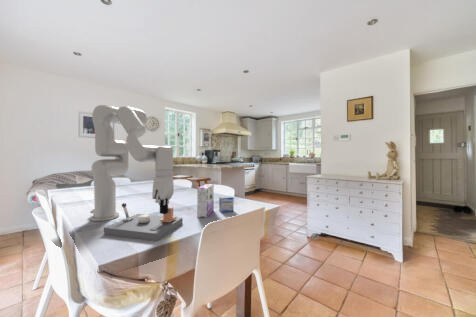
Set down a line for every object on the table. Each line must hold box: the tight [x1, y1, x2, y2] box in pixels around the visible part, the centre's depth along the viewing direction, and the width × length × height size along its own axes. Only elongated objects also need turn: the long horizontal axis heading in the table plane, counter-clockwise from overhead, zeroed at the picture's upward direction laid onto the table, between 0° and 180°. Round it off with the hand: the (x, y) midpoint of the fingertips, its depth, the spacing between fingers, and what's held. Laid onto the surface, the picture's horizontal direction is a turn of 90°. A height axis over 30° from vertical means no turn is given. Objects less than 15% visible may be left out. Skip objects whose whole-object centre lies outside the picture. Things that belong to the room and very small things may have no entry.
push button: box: [138, 214, 151, 223], centre depth 90 cm, size 5×5×2 cm
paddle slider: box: [160, 206, 177, 222], centre depth 92 cm, size 5×6×6 cm
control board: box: [103, 213, 183, 242], centre depth 90 cm, size 26×20×4 cm
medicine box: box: [218, 195, 235, 214], centre depth 119 cm, size 8×4×9 cm, turn 114°
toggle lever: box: [121, 202, 130, 219], centre depth 93 cm, size 2×2×7 cm
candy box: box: [196, 183, 215, 219], centre depth 113 cm, size 14×6×16 cm, turn 172°
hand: (163, 213), depth 89 cm, fingers closed
